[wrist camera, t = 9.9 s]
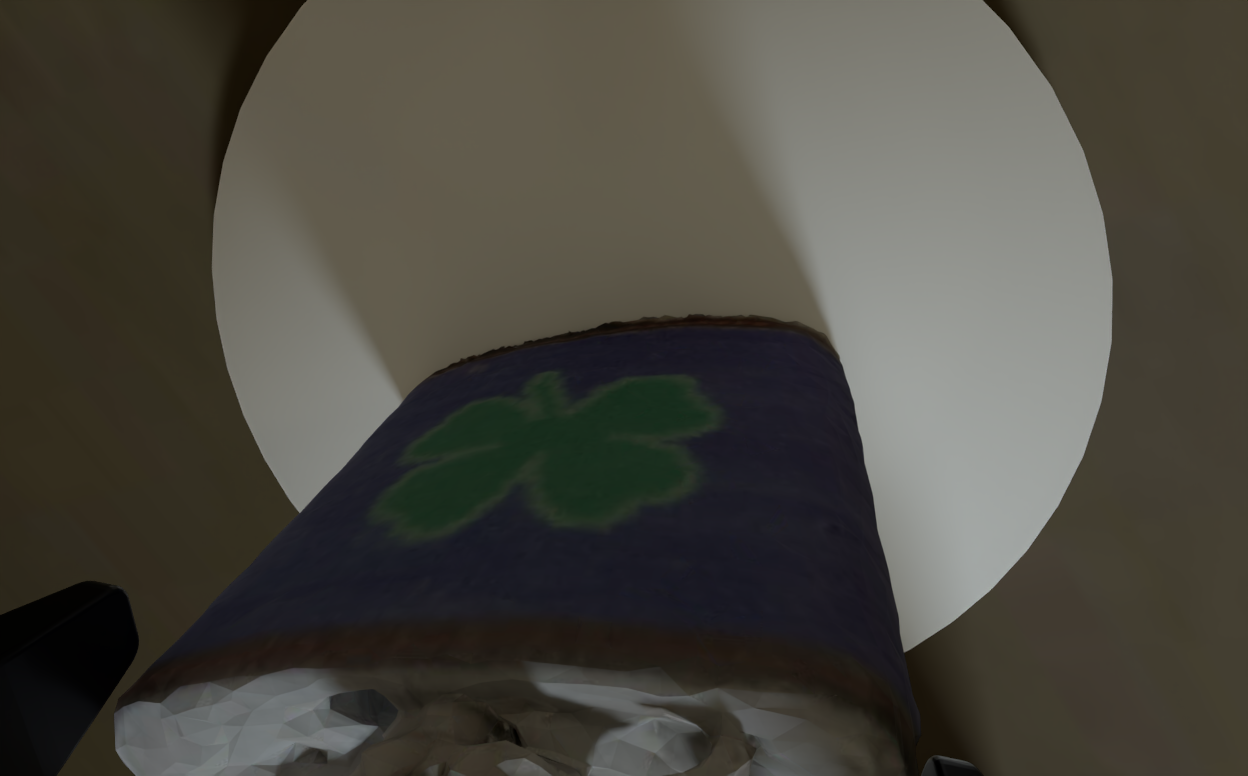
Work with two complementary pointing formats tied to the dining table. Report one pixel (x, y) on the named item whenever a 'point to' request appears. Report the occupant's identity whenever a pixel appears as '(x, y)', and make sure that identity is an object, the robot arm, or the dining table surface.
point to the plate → (681, 231)
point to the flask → (566, 581)
